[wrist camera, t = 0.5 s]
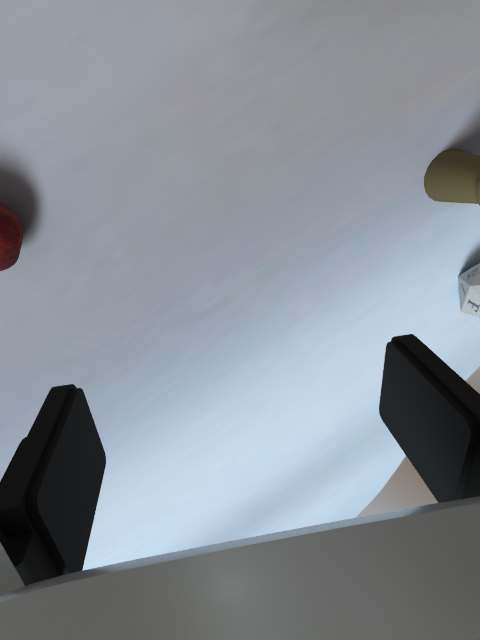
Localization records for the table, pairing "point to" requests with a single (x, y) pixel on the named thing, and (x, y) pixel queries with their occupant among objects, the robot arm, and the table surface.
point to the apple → (9, 237)
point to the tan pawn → (454, 177)
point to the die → (470, 291)
